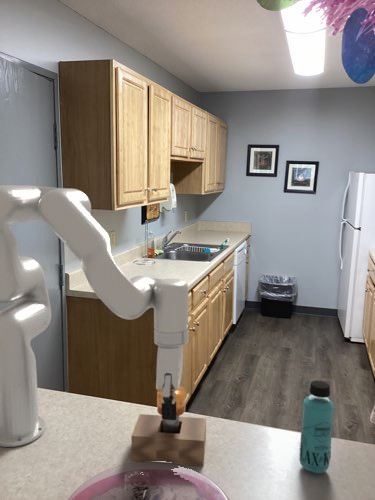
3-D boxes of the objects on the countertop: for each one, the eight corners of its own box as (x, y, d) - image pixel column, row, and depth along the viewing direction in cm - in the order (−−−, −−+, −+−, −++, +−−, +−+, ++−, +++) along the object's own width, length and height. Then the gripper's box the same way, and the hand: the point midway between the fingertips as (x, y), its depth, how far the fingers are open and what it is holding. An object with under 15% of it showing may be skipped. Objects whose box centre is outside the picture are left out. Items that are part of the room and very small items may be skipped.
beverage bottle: (292, 464, 95) (297, 379, 92) (316, 457, 97) (321, 374, 94) (311, 483, 89) (317, 393, 86) (336, 475, 91) (343, 387, 88)
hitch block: (131, 460, 95) (131, 435, 94) (139, 437, 104) (139, 414, 103) (203, 466, 94) (204, 440, 93) (205, 441, 103) (206, 418, 102)
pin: (155, 439, 95) (154, 397, 94) (159, 423, 101) (159, 383, 100) (183, 440, 95) (183, 398, 93) (186, 424, 101) (186, 385, 99)
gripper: (160, 322, 103) (160, 391, 106) (147, 349, 86) (147, 431, 89) (191, 323, 103) (190, 393, 105) (184, 351, 86) (183, 433, 88)
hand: (171, 410), depth 97 cm, fingers closed on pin, 6 cm apart
